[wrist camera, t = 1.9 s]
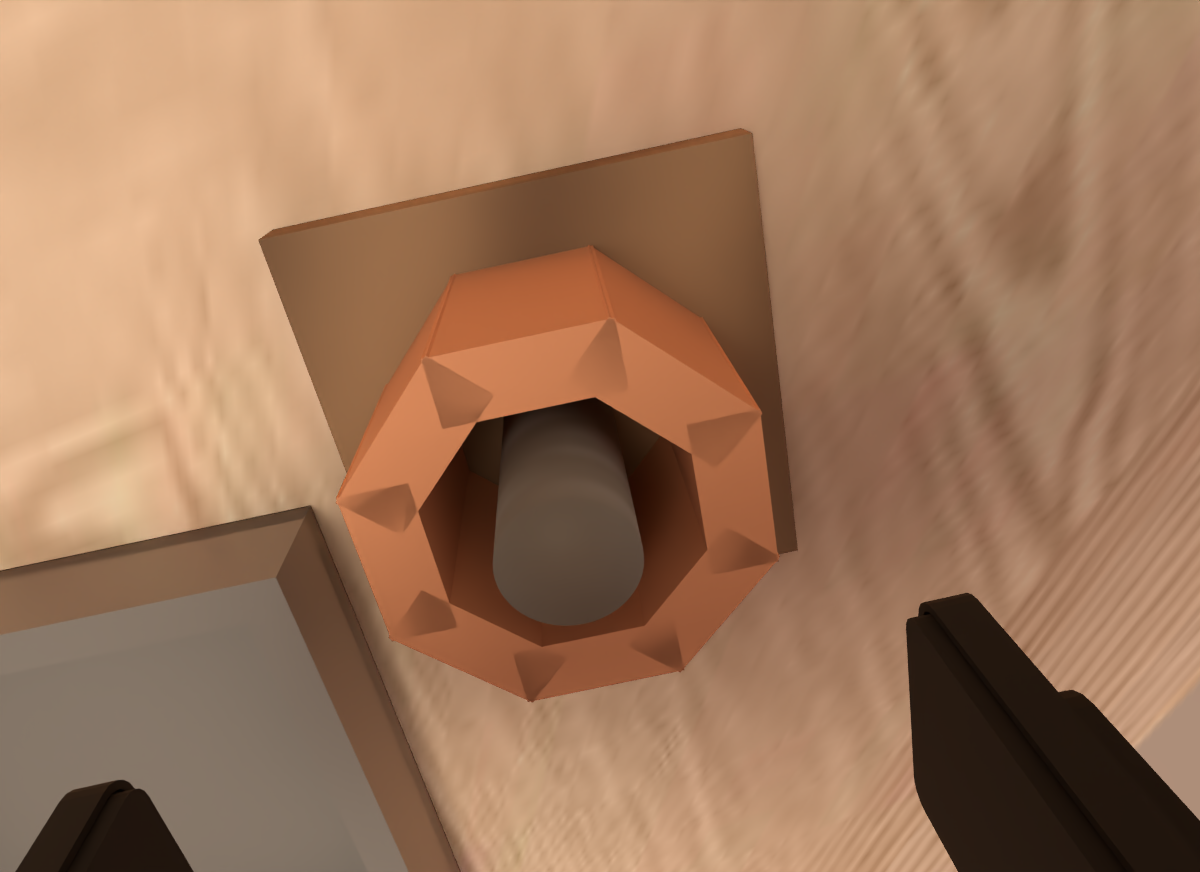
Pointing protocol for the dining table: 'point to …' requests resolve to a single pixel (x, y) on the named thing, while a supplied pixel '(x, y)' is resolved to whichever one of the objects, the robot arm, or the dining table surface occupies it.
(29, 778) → the tray
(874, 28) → the dining table surface
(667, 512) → the collar
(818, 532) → the dining table surface
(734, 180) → the plate
